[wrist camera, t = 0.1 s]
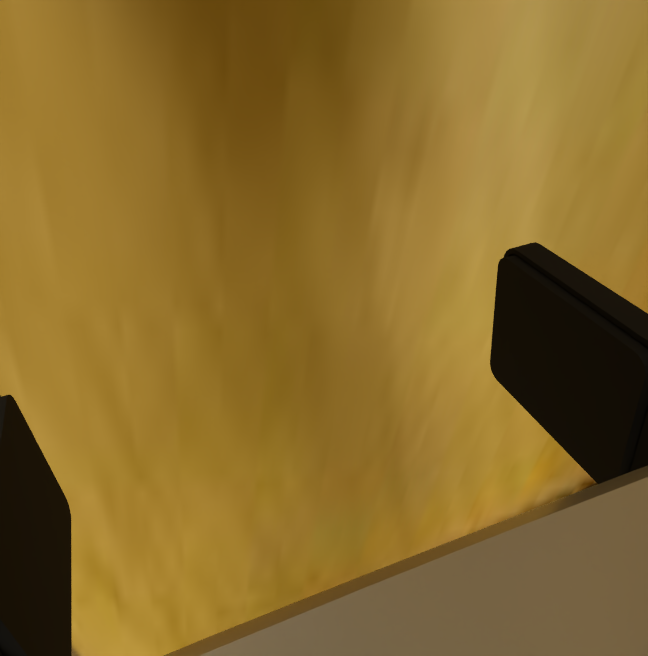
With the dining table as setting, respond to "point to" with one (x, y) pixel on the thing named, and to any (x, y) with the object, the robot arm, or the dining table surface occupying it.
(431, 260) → the dining table surface
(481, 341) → the dining table surface
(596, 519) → the robot arm
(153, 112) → the dining table surface
